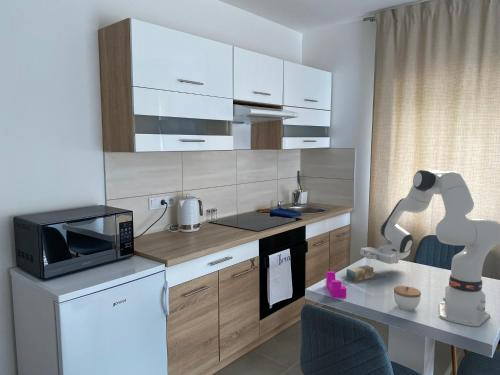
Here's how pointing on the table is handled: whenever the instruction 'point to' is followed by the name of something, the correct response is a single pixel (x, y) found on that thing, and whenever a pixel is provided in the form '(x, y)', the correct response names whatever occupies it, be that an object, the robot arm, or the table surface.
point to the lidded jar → (407, 297)
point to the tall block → (359, 273)
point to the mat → (375, 276)
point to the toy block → (335, 286)
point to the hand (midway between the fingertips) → (367, 256)
